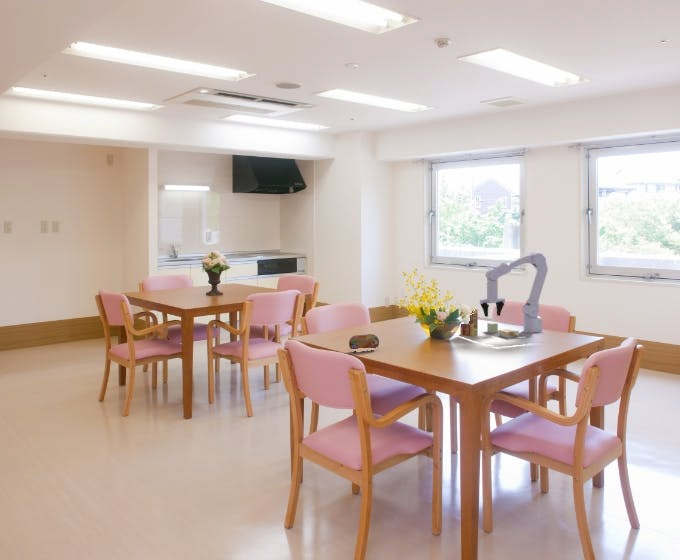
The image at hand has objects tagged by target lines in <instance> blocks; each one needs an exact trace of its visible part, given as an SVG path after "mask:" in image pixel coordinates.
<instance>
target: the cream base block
mask: <svg viewBox="0 0 680 560" xmlns="http://www.w3.org/2000/svg"><path fill="white" fill-rule="evenodd" d="M499 330H500V336H503V337H506V338H509V337H519V335H520V333H519V330H517V329H513V328H505V329H499Z"/></svg>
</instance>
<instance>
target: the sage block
mask: <svg viewBox="0 0 680 560" xmlns="http://www.w3.org/2000/svg"><path fill="white" fill-rule="evenodd" d="M486 323H487V325H486V326H487V327H486V328H487V332H489V333H498V330H499V326H498V325H499V324H498V323H497V322H486Z"/></svg>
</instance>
